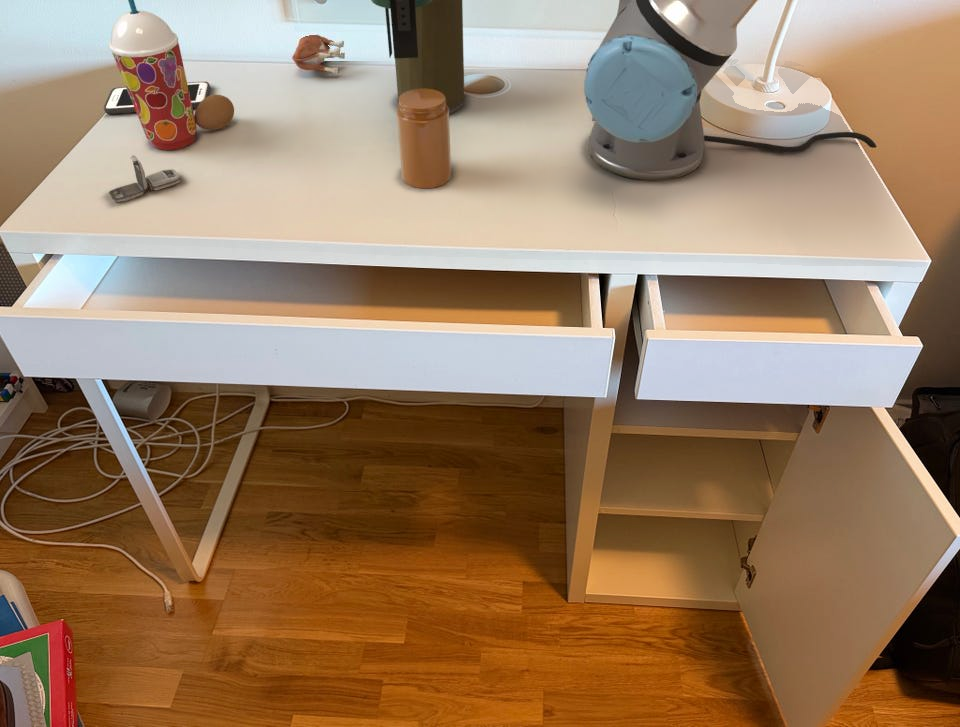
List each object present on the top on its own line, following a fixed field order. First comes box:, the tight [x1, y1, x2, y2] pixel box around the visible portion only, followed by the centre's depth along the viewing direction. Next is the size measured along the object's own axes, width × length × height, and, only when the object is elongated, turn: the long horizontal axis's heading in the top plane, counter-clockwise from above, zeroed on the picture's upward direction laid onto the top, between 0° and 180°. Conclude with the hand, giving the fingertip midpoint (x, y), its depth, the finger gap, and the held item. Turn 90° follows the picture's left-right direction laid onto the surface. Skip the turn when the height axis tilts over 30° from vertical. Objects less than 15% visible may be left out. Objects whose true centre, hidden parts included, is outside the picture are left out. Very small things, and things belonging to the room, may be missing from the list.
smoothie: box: [108, 0, 198, 151], centre depth 98 cm, size 8×8×20 cm
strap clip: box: [108, 154, 181, 203], centre depth 95 cm, size 8×3×4 cm, turn 126°
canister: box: [384, 0, 467, 115], centre depth 107 cm, size 11×10×20 cm
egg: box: [194, 94, 235, 131], centre depth 107 cm, size 4×4×6 cm
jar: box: [396, 88, 452, 189], centre depth 95 cm, size 6×6×10 cm
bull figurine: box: [291, 34, 346, 74], centre depth 122 cm, size 4×13×8 cm
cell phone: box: [103, 81, 211, 115], centre depth 114 cm, size 8×15×1 cm, turn 100°
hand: (405, 43), depth 89 cm, fingers closed on lid, 7 cm apart
